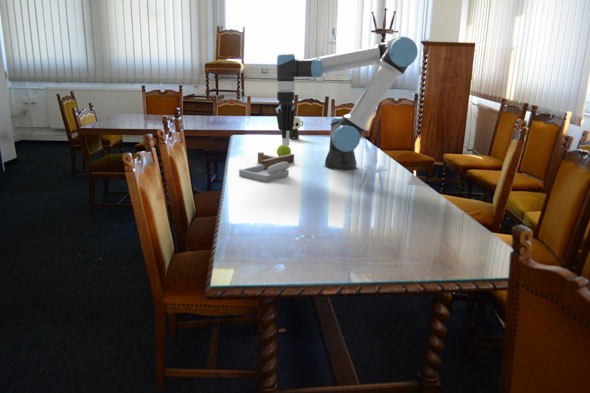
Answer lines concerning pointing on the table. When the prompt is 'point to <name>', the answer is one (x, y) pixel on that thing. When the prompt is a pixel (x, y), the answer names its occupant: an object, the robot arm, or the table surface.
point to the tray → (261, 173)
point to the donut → (278, 167)
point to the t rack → (274, 159)
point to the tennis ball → (283, 150)
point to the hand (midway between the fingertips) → (285, 145)
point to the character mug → (295, 128)
